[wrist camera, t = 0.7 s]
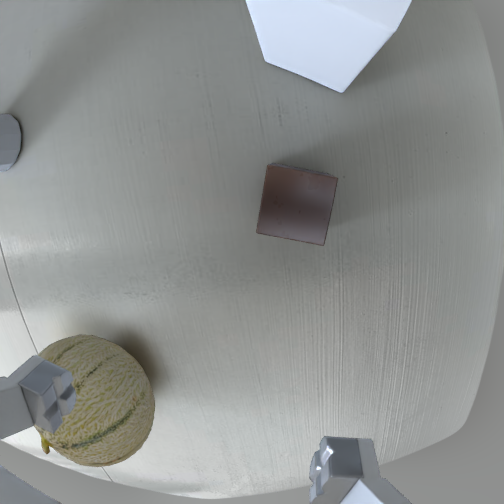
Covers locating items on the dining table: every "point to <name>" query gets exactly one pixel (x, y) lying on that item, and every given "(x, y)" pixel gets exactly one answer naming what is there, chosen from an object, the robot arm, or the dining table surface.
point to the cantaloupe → (100, 402)
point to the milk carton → (325, 35)
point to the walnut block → (296, 203)
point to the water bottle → (9, 141)
